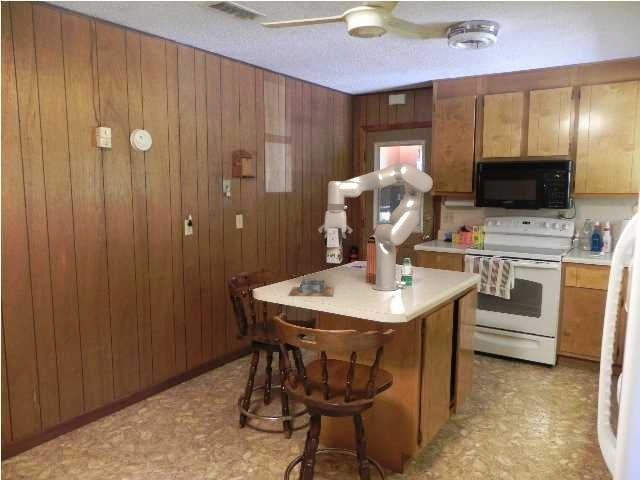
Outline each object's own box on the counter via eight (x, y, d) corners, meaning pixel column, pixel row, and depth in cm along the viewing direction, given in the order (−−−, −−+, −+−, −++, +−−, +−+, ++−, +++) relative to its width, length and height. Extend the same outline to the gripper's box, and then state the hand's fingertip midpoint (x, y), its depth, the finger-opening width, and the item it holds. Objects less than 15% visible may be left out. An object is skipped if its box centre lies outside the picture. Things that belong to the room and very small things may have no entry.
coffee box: (340, 263, 224) (340, 228, 222) (326, 262, 225) (326, 227, 223) (342, 260, 233) (343, 226, 231) (329, 260, 234) (330, 226, 232)
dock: (334, 289, 238) (334, 280, 238) (333, 296, 223) (333, 286, 223) (293, 289, 240) (292, 279, 239) (289, 295, 225) (289, 285, 224)
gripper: (354, 208, 230) (353, 246, 232) (317, 207, 231) (316, 245, 232) (354, 208, 222) (353, 248, 224) (316, 207, 223) (315, 247, 225)
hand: (334, 246), depth 228 cm, fingers closed on coffee box, 6 cm apart
